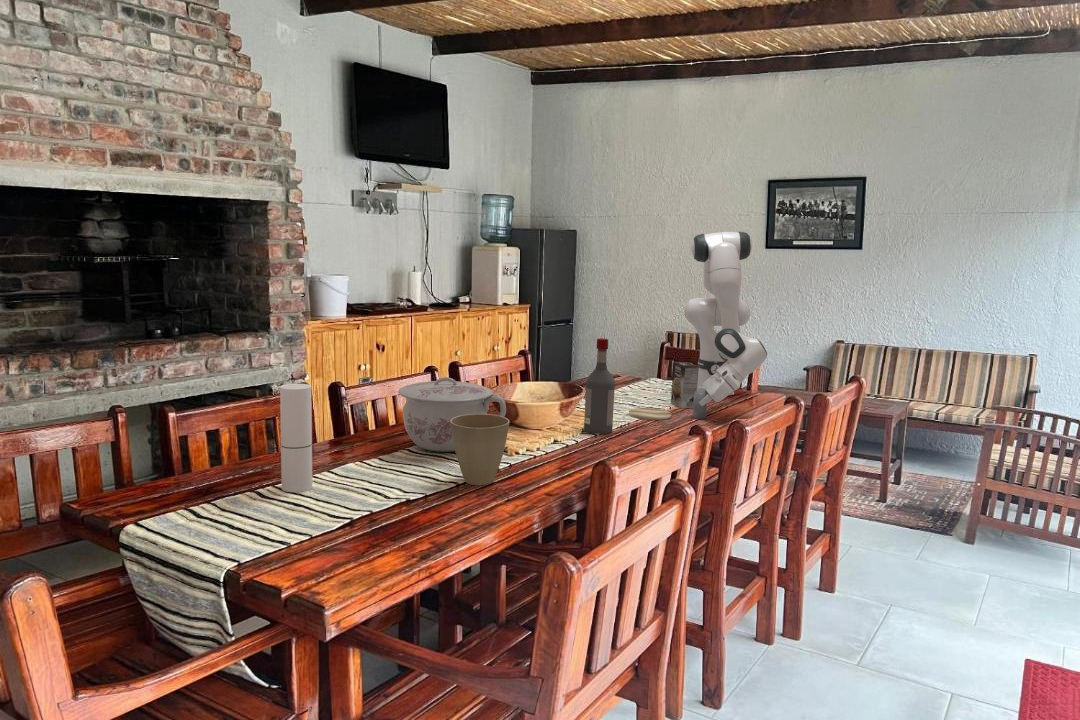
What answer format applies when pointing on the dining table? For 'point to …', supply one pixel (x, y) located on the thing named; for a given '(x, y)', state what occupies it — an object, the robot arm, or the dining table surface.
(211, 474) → the dining table surface
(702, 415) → the small gray bottle
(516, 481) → the dining table surface
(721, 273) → the robot arm
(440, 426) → the chamber pot
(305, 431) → the cylindrical container
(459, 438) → the plant pot
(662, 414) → the trivet
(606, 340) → the liquor
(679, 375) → the coffee box
